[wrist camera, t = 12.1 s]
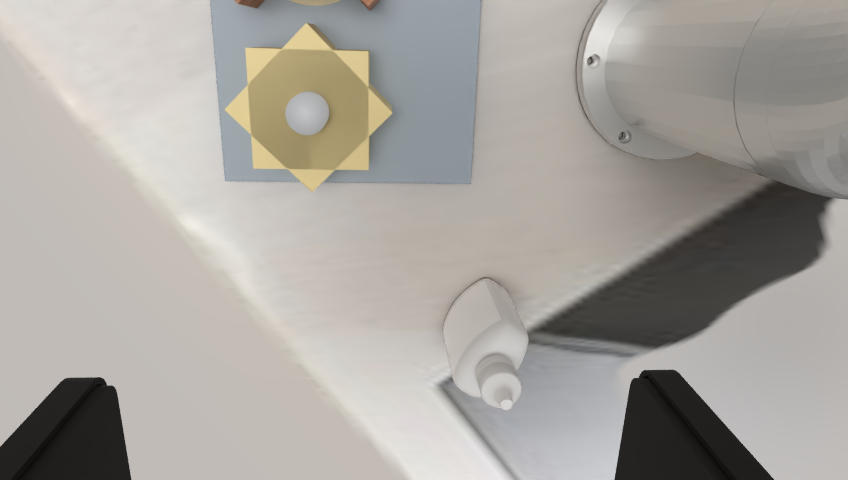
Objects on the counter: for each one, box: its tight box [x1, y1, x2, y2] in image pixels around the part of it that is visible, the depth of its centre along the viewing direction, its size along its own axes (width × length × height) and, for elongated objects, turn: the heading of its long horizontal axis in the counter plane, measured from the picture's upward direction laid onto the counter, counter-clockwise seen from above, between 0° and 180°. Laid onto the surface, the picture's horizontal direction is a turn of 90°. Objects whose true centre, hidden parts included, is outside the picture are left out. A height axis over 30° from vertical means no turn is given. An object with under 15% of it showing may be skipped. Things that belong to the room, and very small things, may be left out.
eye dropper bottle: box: [443, 278, 528, 410], centre depth 38 cm, size 4×6×12 cm
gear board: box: [210, 0, 481, 192], centre depth 33 cm, size 16×20×7 cm
